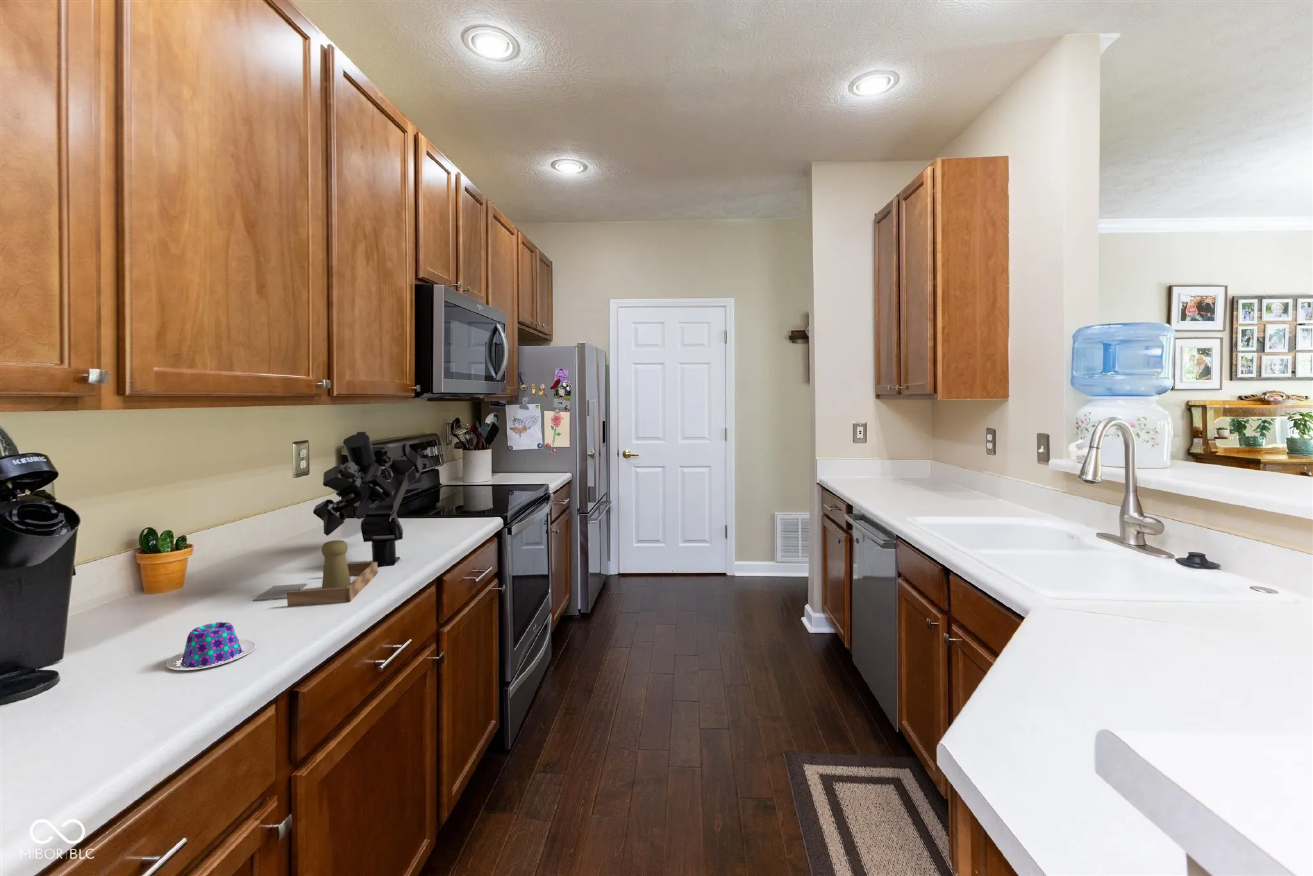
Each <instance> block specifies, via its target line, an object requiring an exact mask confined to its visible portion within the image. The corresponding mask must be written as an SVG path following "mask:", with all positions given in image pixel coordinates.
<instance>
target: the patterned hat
mask: <svg viewBox="0 0 1313 876" xmlns="http://www.w3.org/2000/svg"><path fill="white" fill-rule="evenodd" d="M186 638H187V639H186V642H185V647H184V650H183V651H181V652H179V653H177V654H175V655H173V656H172V657H170V658H169V659H168V660H167V661H166V663H165V665H166V668H168V669H171V670H175V671H193V670H194V671H195V670H200V669H201V670H202V669H207V668H212V667H216V666H217V667H218V666H221V665H223V664H227V663H231V662H233V661H236V660H237V659H240V658H242V657H244V656H246V655H248V654H250V653H251V652H252V651H254V650H255V649H256V647H257V644H256V643H257V642H255V641H253V640H249V639H238V636H237V633H236V630H235V628H234V626H233V624H232V623H230V622H222V621H220V622H214V623H207V624H203V625H201V626H197V627H195V628H193V629H192V630H191V631H190V632H189V633H188V635H187V637H186ZM242 645H244V646H242ZM241 647H245V648H244V649H246V650H245V651H244V652H243V649H242V648H241ZM242 652H243V654H242V655H240V653H242ZM236 654H239V655H240V656H239V655H238V656H239V657H237V655H236ZM235 655H236V656H235ZM234 656H235V657H237V658H235V657H234ZM233 657H234V658H235V659H233ZM181 658H183V659H182V662H181V663H182V664H181V665H182V666H186V667H188V668H181V666H176V665H177V664H176V663H177V662H176V661H179V660H181ZM231 658H232V660H230V661H228V662H226V660H229V659H231ZM219 661H224V663H223V662H219ZM218 662H219V663H221V664H219V663H218ZM174 663H175V664H174ZM215 663H217V665H216V664H215ZM184 664H185V665H184ZM212 664H214V665H213V666H211V665H212ZM199 665H202V666H201V667H202V668H198V667H200V666H199ZM206 665H207V667H206ZM208 665H210V666H208ZM197 666H198V667H197Z"/></svg>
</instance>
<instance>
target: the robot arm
mask: <svg viewBox="0 0 1313 876" xmlns="http://www.w3.org/2000/svg"><path fill="white" fill-rule="evenodd" d="M342 444H343V447H344V450H345V452H346V456H347V458H348V462H346V463H344V464H340V465H335V466H333V467H331V468H330V469H328V470H326V471H324V472H323V480H322V486H324V487H325V488H329V489H332V490H333V491H336V493H335V495H336V496H338V497H339V498H340V499H338V500H337V501H334V500H333V499H326V500H323V501H322V502H319V503H318V504H316V505H315V507H314V509H313V511H312V513H313V514H314V515H315V516H316V517H318V518H319V519H320V520H321V521H322V522H323V534H324V535H326V536H327V537H328V536H330V535H331V534H332V533H333V532H335V530H337V529H338V528H339V527H341V526H342V525H343V524H344V523H345V521H346V519H347V517H348V516H347V511H346V510H345V509H347V508H349V507H353V508H355V509H356V513H355V517H356V518H357V520H361V521H360V532H361V536H362V539H363V543H369V542H371V555H372V556H371V557H372V558H371V559H372V560H371V561H370V562H377V564H378V566H391V565H392V566H393V565H396V564H395V563H397V562H399V560H401V557H400V556H397V548H396V542H397V541H400V540H403V539H404V536H403V535H404V529H403V526H402V524H401V523H400V520H399V518H398V515H397V512H398V510H399V508H400V505H401V502H402V501H403V497H405V496H404V495H405V493H406V491H407V489H408V486H409V484H411V483H413V482H415V481H417V480H418V478H419V477H420V475H421V473H423V462H422V460H421V457H420V455H419V454H418V453H417V452H416V451H414V450H413V449H412V448H410V445H409V443H408V442H407V443H406V442H391V443H388V444H381V445H380V444H379V445H378V444H377V445H373V444H372V441H371V438H370V436H369V435H368V434H367V432H366V431H357V432H356V433H355V434H352V435H349V436H347V437H346V438H344V439H343V442H342ZM383 468H388V470H389V472H390V475H391V478H390V480H389V482H388V481H387V479H385V478H384V477H383V476H381V474H382V469H383Z"/></svg>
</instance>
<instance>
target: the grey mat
mask: <svg viewBox="0 0 1313 876" xmlns="http://www.w3.org/2000/svg"><path fill="white" fill-rule="evenodd" d="M307 585H308V583H294V584H293V583H292V584H280V585H279V584H278V585H273V586H271V587H269V588H268V589H267V590H265V591H264V592H262V593H260V594H259V595H258V596H256V597H254V598H253V599H252V601H253V602H257V601H258V600H261V601H269V600H268V599H274V600H287V592H288V591H300V589H301V588H302V589H303V588H304V586H305V587H306V586H307ZM302 589H301V590H302Z"/></svg>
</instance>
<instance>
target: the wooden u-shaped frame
mask: <svg viewBox="0 0 1313 876" xmlns="http://www.w3.org/2000/svg"><path fill="white" fill-rule="evenodd" d="M347 566H348V571H349V576H350V577H355V579H353V580H352V581H351V583H350V584H349V585H348V586H347V587H343V588H329V589H322V588H318V589H317V588H316V589H303V590H302V589H301V590H299V591H288V592H287V599H286V603H287V605H286V606H287V607H288V606H290V607H301V606H300V605H303V606H310V605H309V604H317V605H326V604H325V603H330V604H338V603H339V604H342V603H350V602H351V601H353V600H354V598H356V597H357V595H358V594H359V593H361V591H362V590H363V589H364V588H365V587H366V586H367V585H368V584H369V583H370V582H372V580H373V579H374V578H375V577H376V576H377V575H378V574H379V571H378V570H379V569H378V568H379V567H378V564H377V562H371V561H367V562H352V563H351V562H350V563H349V562H347ZM377 573H378V574H377ZM376 574H377V575H376ZM374 576H375V577H374ZM371 579H372V580H371Z"/></svg>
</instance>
